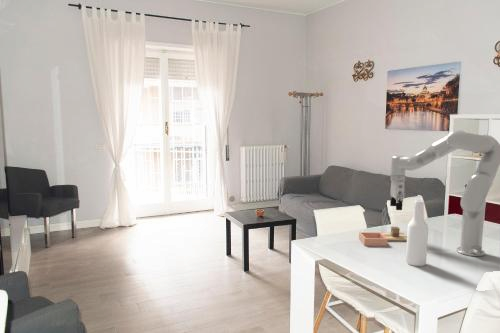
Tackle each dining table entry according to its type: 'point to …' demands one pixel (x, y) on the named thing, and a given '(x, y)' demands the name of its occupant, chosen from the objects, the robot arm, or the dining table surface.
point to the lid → (395, 235)
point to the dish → (372, 239)
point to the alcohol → (417, 237)
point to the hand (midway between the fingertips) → (395, 208)
